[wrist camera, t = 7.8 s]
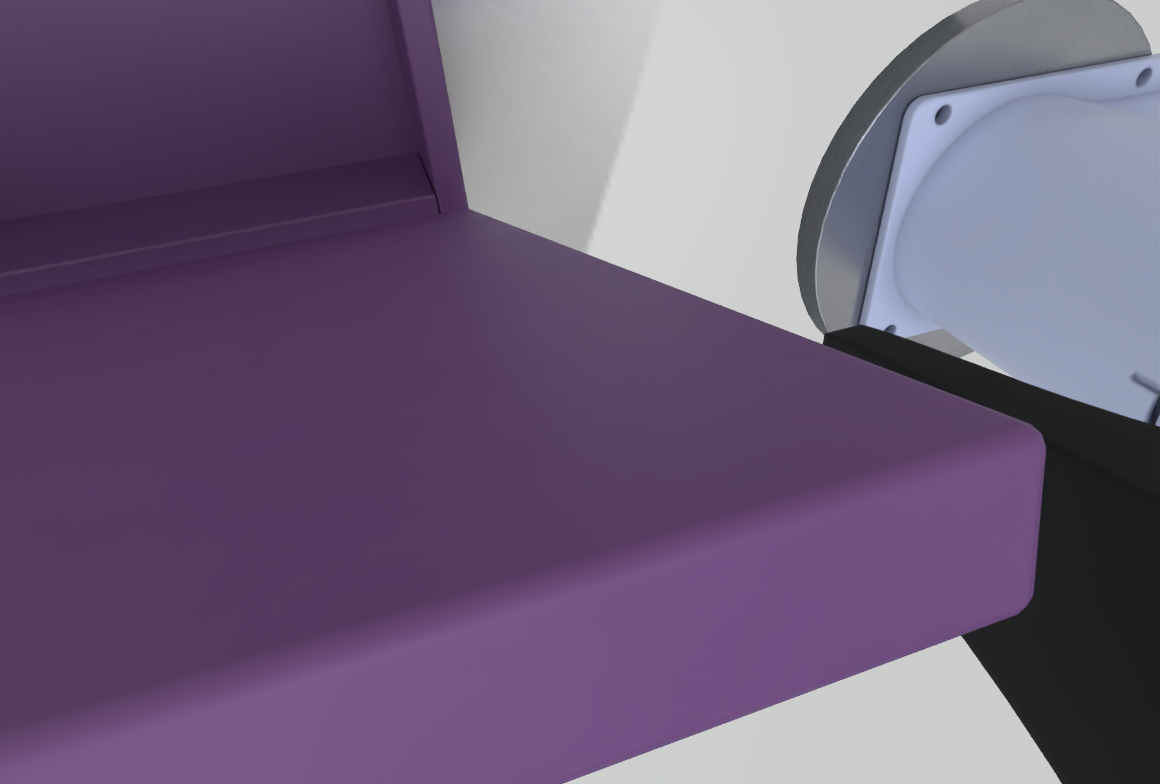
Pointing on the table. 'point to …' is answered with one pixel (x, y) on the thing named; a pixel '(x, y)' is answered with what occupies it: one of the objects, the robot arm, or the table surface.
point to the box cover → (459, 515)
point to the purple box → (212, 129)
